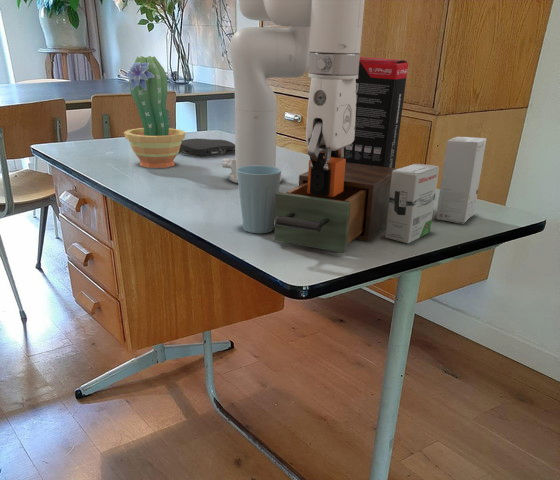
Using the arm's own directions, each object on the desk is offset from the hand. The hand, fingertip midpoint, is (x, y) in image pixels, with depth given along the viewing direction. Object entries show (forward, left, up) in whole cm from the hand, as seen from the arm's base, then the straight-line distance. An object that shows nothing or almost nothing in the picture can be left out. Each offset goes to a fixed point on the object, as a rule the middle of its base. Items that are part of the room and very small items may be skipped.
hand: (325, 190), depth 97 cm
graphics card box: (-6, +31, -9) cm, 33 cm away
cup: (-13, +1, -9) cm, 16 cm away
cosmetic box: (+17, +28, -9) cm, 34 cm away
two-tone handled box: (0, -1, -8) cm, 8 cm away
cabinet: (0, +12, -9) cm, 15 cm away
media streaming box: (-61, +60, -9) cm, 86 cm away
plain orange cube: (0, 0, 0) cm, 0 cm away
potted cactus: (-62, +38, -9) cm, 73 cm away
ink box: (+12, +11, -9) cm, 19 cm away
